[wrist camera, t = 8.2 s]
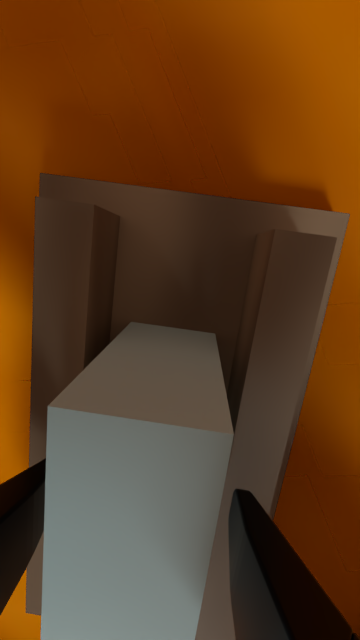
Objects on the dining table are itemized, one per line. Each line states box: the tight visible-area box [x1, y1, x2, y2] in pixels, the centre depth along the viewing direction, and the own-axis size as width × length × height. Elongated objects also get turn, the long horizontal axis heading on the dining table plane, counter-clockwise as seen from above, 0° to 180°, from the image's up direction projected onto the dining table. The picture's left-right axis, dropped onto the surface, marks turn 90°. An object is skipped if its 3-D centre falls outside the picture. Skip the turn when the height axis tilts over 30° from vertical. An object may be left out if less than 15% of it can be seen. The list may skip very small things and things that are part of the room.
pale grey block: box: [41, 322, 234, 640], centre depth 8 cm, size 3×7×6 cm, turn 173°
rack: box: [26, 173, 350, 640], centre depth 11 cm, size 10×16×4 cm, turn 172°
